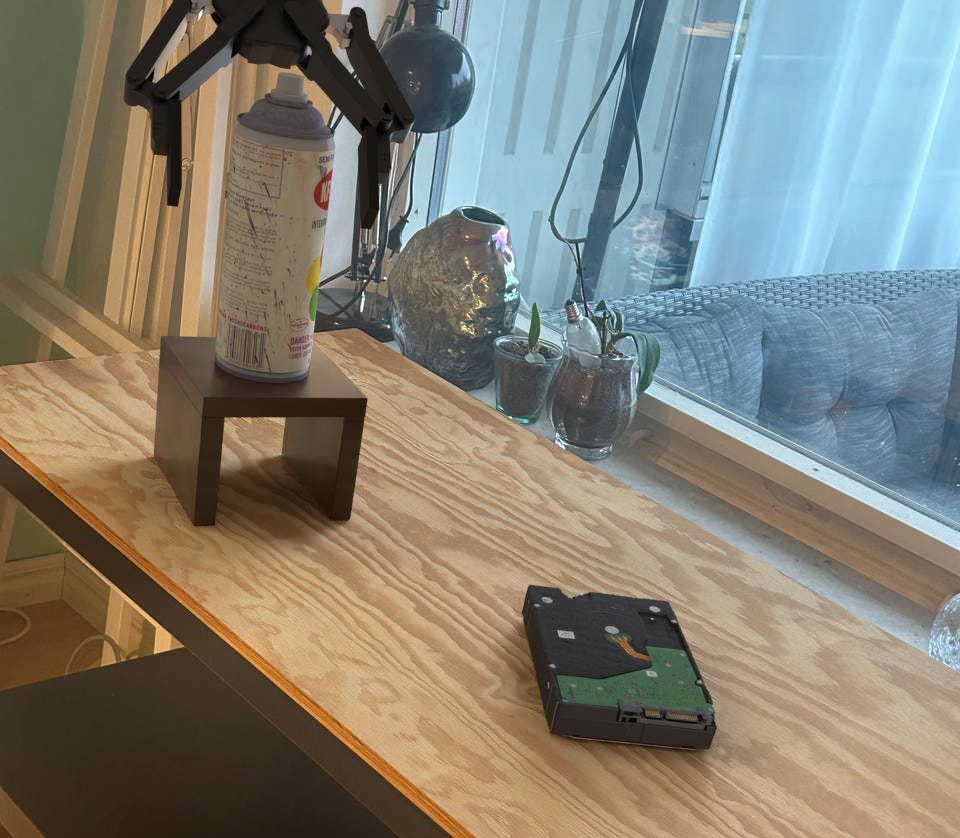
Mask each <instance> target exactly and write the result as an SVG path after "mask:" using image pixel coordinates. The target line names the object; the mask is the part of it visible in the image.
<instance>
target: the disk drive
mask: <svg viewBox="0 0 960 838" xmlns="http://www.w3.org/2000/svg"><path fill="white" fill-rule="evenodd" d="M521 616H522V622H523V626H524V632H525V635H526V639H527V643H528V648H529V651H530V657H531V661H532V666H533V669H534V671H535V676H536V681H537V686H538V690H539V696H540V699H541V704H542V709H543V712H544V716H545V720H546V723H547V727H548V731H549V734H551V735H555V736H557V735H560V736H562V737H569V738H572V739H576V740H577V739H578V740H588V741H598V742H599V741H601V742H609V743H610V742H611V743H620V744H627V745H628V744H629V745H637V746H647V747H657V748H658V747H659V748H668V749H678V750H679V749H680V750H689V751H698V750H705V751H709V750H710V749H711V746H712V744H713V740H714V737H715V735H716V732H717V730H718V726H717V723H716V721H715V719H716V718H715V716H716V710H715V709H714V707H713V704H714V702H713V698H712V696H711V693H710V691H709V690H708V688H707V685H706V683H705V682H704V679H703V676H702V674H701V671H700V670H699V667H698V664H697V662H696V661H695V657H694V656H693V655H694V654H693V653H692V650H691V649H690V647H689V644H688V641H687V639H686V637H685V635H684V632H683V630H682V628H681V625H680V623H679V620H678V616H677V615H676V613H675V611H674V609H673V607H672V605H671V603H670V601H668V600H662V599H653V598H646V597H645V598H643V597H635V596H634V597H633V596H627V595H618V594H614V593H603V592H595V591H588V592H586V593H583V594H579V595H575V596H572V597H569V595H567V594H566V593H564V592H563V591H562V589H561V588H560V587H556V586H555V587H554V586H544V585H536V584H528V586H527V587H526V592H525V597H524V601H523V606H522V610H521Z"/></svg>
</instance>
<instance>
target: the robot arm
mask: <svg viewBox="0 0 960 838" xmlns="http://www.w3.org/2000/svg"><path fill="white" fill-rule="evenodd" d="M206 14H209V15H210V17H211V20H212V22H214V24H215V25H216V27H215V29H214V31H213V33H211V35H209V36H207V38H206V39H205V40H203V42H201V43H200V44H199V45H198V46H197V47H195V48H194V49H193V50H191V52H190V53H189V54H187V55H186V56H185V57H184V58H183V59H182V60H180V61H179V62H178V63H177V64H176V65H175V66H173V67H172V68H171V69H170V70H169V71H168V72H167V73H166V74H164V75H163V76H162V77H160V78H159V79H158V80H157V78H158V76H159V75H160V74H161V72H162V70H163V69H164V68H165V66H166V65H167V63H168V62H169V60H170V58H171V56H172V55H173V53H174V52H175V50H176V48H177V47H178V45H179V44H180V42H181V41H182V40H183V37H184V35H185V33H186V30H187V27H188V25H189V26H193V25H194V24H195V23H196V22H198V21H200V19H201V17H202V16H203V15H206ZM327 34H329V35H331V36H333V37H334V38H335V39H336V42H337V43H338V47H339V49H340V50H342V51H345V54H346V58H347V59H348V61H349V64H350V66H351V67H352V69H353V71H354V73H355V75H356V77H357V79H356V77H355V76H354V75H353V74H352V73H351V72H350V70H349V69H348V68H347V67H346V66H345V65H344V63H343V62H342V61H341V59H339V57H337V55H336V54H335V53H334V51H333V47H332V44H331V42H330V41H329V40H328V39H327V38H326V35H327ZM239 56H240V57H242V58H243V59H245V60H246V61H247V64H252V65H271V66H274V67H276V68H279V69H284V70H291V69H292V67H294V66H296V67H297V69H298V70H299V71H300V72H301V73H302V74H303V75H304V78H306V79H307V80H308V81H310V82H315V84H316V85H317V86H318V87H319V88H320V90H321V91H322V92H323V93H324V94H325V96H326V97H327V98H328V99H329V100H330V101H331V102H332V103H333V105H335V107H336V108H337V109H338V110H339V112H340V113H341V114H342V115H343V116H344V117H345V118H346V120H347V121H348V122H349V123H350V124H351V126H352V127H353V128H354V129H355V130H356V131H357V132H358V134H359V135H360V136H361V138H360V140H359V143H358V146H357V165H358V166H357V167H358V194H359V195H358V196H359V197H358V198H359V219H360V220H359V222H360V229H363V230H372V228H373V226H374V224H375V222H376V219H377V217H378V215H379V212H380V211H381V209H380V185H385V183H386V181H387V179H388V177H389V174H390V172H391V170H392V155H391V143H395V144H399V145H400V144H401V145H402V144H404V143H406V141H407V139H408V136H409V134H410V132H411V130H412V127H413V125H414V123H415V121H416V120H415V114H414V113H413V111H412V109H411V106H409V104H408V102H407V100H406V98H405V96H404V95H403V93H402V91H401V89H400V87H399V85H398V84H397V82H396V80H395V78H394V75H392V73H391V71H390V69H389V67H388V65H387V64H386V61H385V60H384V58H383V57H382V55H381V53H380V51H379V49H378V46H377V45H376V43H375V42H374V40H373V38H372V37H371V35H370V28H369V24H368V17H367V12H366V11H365V10H364V9H363V8H362V7H361V6H353V7H352V8H350V10H349V13H348V14H345V13H344V14H343V13H329V11H328V9H327V8H326V6H325V4H324V0H172V2H171V3H170V5H169V6H168V8H167V10H166V11H165V12H164V14H163V16H162V17H161V19H160V20H159V22H158V24H157V25H156V26H155V28H154V29H153V31H152V33H151V34H150V35H149V37H148V38H147V40H146V42H145V43H144V45H143V47H142V48H141V49H140V52H138V54H137V56H136V57H135V59H134V60H133V62H132V63H131V65H130V66H129V68H128V70H127V71H126V73H125V76H124V77H125V78H124V86H123V101H124V103H125V104H126V105H127V106H129V107H138V106H139V107H141V108H143V109H145V110H146V111H147V112H148V114H149V115H148V118H149V120H150V129H149V130H150V132H149V133H150V136H149V138H150V139H149V140H150V141H149V142H150V145H149V146H150V147H149V148H150V150H151V152H152V155H153V156H161V157H166V206H168V207H175V208H178V207H179V203H180V199H181V194H182V187H183V131H182V130H183V127H182V125H183V124H182V122H183V120H182V117H183V116H182V115H183V113H182V109H183V108H182V107H183V106H182V104H183V102H184V101H185V100H187V98H189V97H190V96H191V95H192V94H193V93H194V92H196V91H197V90H198V89H199V88H200V87H201V86H202V85H204V84H205V83H206V82H207V81H208V80H209V79H210V78H212V77H213V76H214V75H215V74H216V73H217V72H218V71H219V70H221V69H222V68H224V69H225V68H227V67H228V66H229V65H230V64H232V62H234V61H235V60H236V59H237V58H238V57H239ZM156 80H157V81H156ZM358 80H359V81H358ZM155 81H156V82H155Z"/></svg>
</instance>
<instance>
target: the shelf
mask: <svg viewBox="0 0 960 838" xmlns="http://www.w3.org/2000/svg"><path fill="white" fill-rule="evenodd" d="M216 341H217V336H189V335H188V336H184V335H181V336H180V335H161V336H160V344H159V345H160V346H159V359H158V374H157V375H158V377H157V395H156V409H155V410H156V411H155V425H154V426H155V428H154V443H153V444H154V445H153V457H154V459H155V461H156V462H157V464H158V466H159V468H160V470H161V471H162V474H163V475H164V476H165V478H166V480H167V482H168V484H169V486H170V487H171V489H172V490H173V492H174V494H175V496H176V498H177V499H178V500H179V503H180V504H181V506H182V507H183V509H184V512H185V513H186V515H187V517H188V518H189V520H190V522H191V524H192V525H193V527H194V526H195V527H196V526H200V527H201V526H216V521H217V513H218V512H217V511H218V501H219V500H218V499H219V487H220V476H221V467H222V466H221V465H222V455H223V454H222V453H223V442H224V432H225V421H226V418H229V419H230V418H233V419H235V418H239V419H240V418H243V419H245V418H284V419H285V420H284V427H283V437H282V445H281V456H282V457H283V459H284V460H285V461H286V462H287V464H288V465H289V467H290V468H291V469H292V470H293V472H294V473H295V474H296V476H297V477H298V478H299V480H300V481H301V482H302V483H303V485H304V486H305V488H306V489H307V490H308V492H309V493H310V494H311V495H312V497H313V498H314V500H315V501H316V503H317V504H318V506H320V508H321V509H322V510H323V512H324V513H325V514H326V516H327V517H328V518H329V520H330V521H346V520H351V517H352V511H353V503H354V496H355V490H356V482H357V475H358V469H359V468H358V467H359V461H360V455H361V447H362V440H363V433H364V427H365V420H366V413H367V407H368V400H369V399H368V397H367V396H366V394H365V393H364V392H363V391H362V390H361V389H360V388H359V387H358V385H356V383H354V381H352V380H351V378H350V377H349V376H348V375H347V374H346V372H344V371H343V370H342V369H341V368H340V367H339V366H338V365H337V363H336V362H335V361H333V359H332V358H331V357H330V356H329V355H328V354H327V353H326V352H325V351H324V349H322V347H321V346H319V344H318V343H317V342H316V341H315V340H314V339H313V342H312V350H311V359H310V364H309V365H310V367H309V373H308V376H307V377H305V378H304V379H302V380H299V381H295V382H288V383H265V382H258V381H252V380H247V379H244V378H240V377H236V376H234V375H232V374H229V373H227V372H225V371H223V370H222V369H221V368H219V367H218V366H217V364H216V362H215V355H216V353H217V352H216Z"/></svg>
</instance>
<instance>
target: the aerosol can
mask: <svg viewBox="0 0 960 838" xmlns="http://www.w3.org/2000/svg"><path fill="white" fill-rule="evenodd" d="M277 73H278V74H277V79H276V85H275V88H271V89H270V92H268V93H264V97H263V98H260V99H258V100H256V101H254V103H253V104H252V105H251V107H250V109H249V111H246V112H241V113H238V114H237V115H236V121H237V123H236V125H235V127H234V129H233V133H232V143H231V144H232V145H231V158H230V169H229V181H228V193H227V206H226V216H225V230H224V243H223V256H222V268H221V278H220V279H221V281H220V290H219V291H220V294H219V305H218V317H217V318H218V319H217V329H216V337H217V341H216V352H217V353H216V355H215V362H216V364H217V366H218V367H219V368H221V369H222V370H223V371H225V372H227V373H229V374H232V375H234V376H236V377H240V378H244V379H247V380H252V381H258V382H265V383H288V382H295V381H299V380H302V379H304V378H305V377H307V376H308V373H309V367H310V365H309V364H310V359H311V350H312V342H313V340H314V333H315V325H316V317H317V308H318V307H317V306H318V300H319V299H318V298H319V291H320V290H319V289H320V282H321V273H322V264H323V257H324V256H323V255H324V247H325V239H326V231H327V221H328V213H329V205H330V197H331V188H332V180H333V171H334V163H335V154H336V148H337V147H336V143H335V138H334V137H335V134H336V130H335V129H333V127H330V126H328V125H326V123H325V120H324V119H325V118H324V116H323V114H322V113H321V112H320V110H318V109H317V108H316V107H314V102H313V101H312V100H310V99H309V95H308V94H306V93H305V92H304V89H305V88H304V87H305V76H303V75H300V74H297V73H292V72H285V71H279V72H277Z"/></svg>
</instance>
